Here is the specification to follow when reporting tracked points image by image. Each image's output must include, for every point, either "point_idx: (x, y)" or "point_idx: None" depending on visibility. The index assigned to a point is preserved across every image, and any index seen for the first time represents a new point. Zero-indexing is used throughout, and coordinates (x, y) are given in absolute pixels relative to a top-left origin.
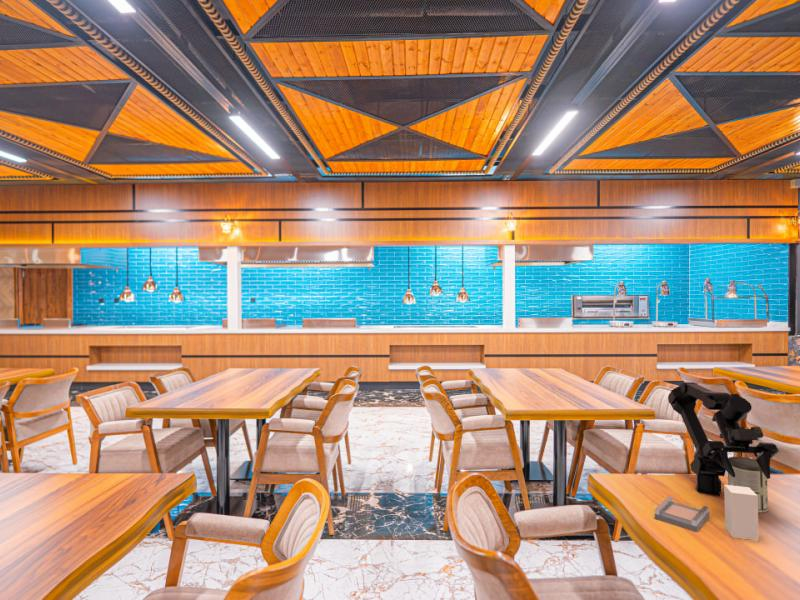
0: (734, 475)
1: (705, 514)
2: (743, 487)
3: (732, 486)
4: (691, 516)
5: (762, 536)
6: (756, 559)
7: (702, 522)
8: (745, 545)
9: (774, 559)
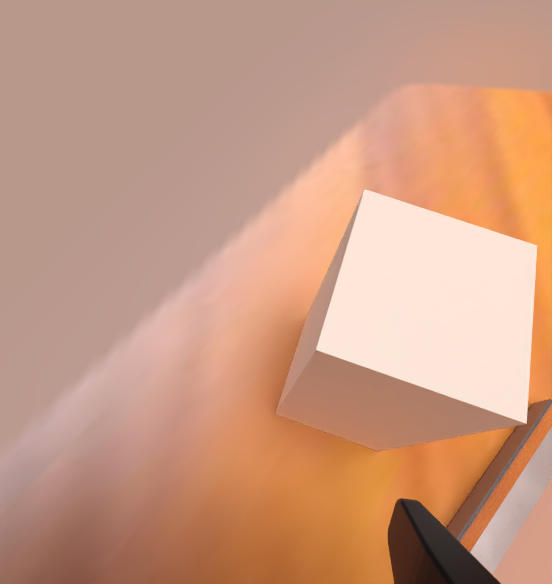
0: (413, 502)
1: (461, 541)
2: (375, 344)
3: (467, 371)
4: (547, 517)
5: (253, 363)
6: None
7: (489, 476)
8: None
9: (338, 206)
